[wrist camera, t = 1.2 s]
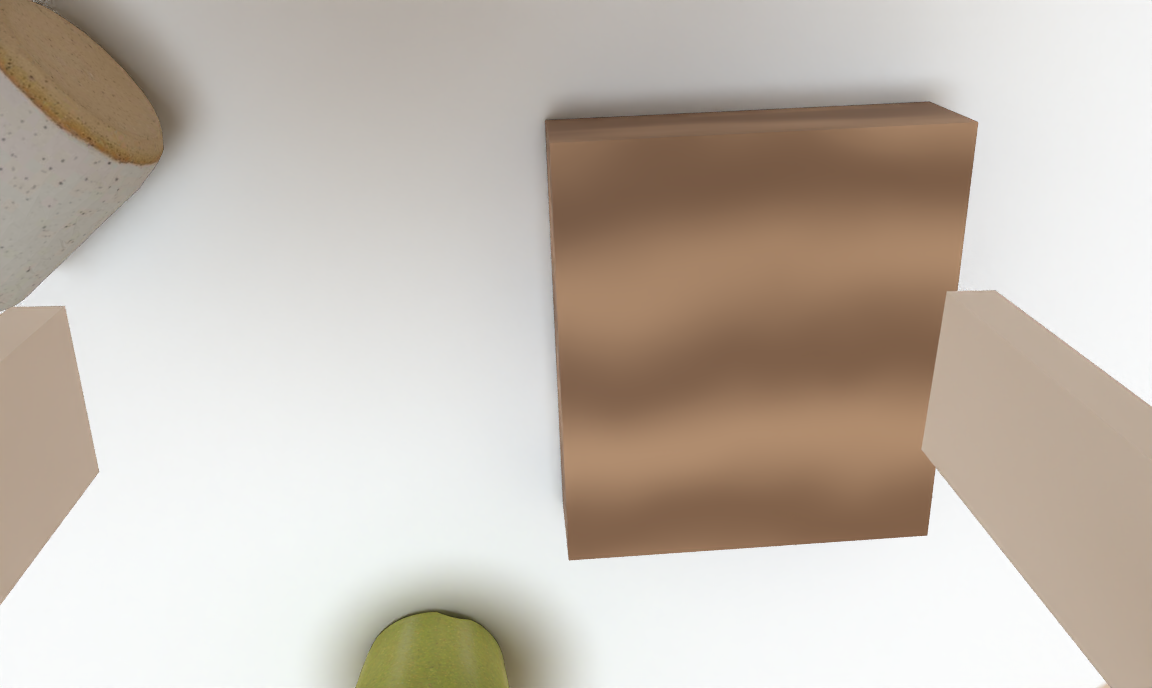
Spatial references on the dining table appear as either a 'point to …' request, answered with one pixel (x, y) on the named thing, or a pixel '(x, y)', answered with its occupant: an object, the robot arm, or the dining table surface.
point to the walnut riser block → (751, 321)
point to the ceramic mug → (62, 142)
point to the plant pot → (434, 655)
